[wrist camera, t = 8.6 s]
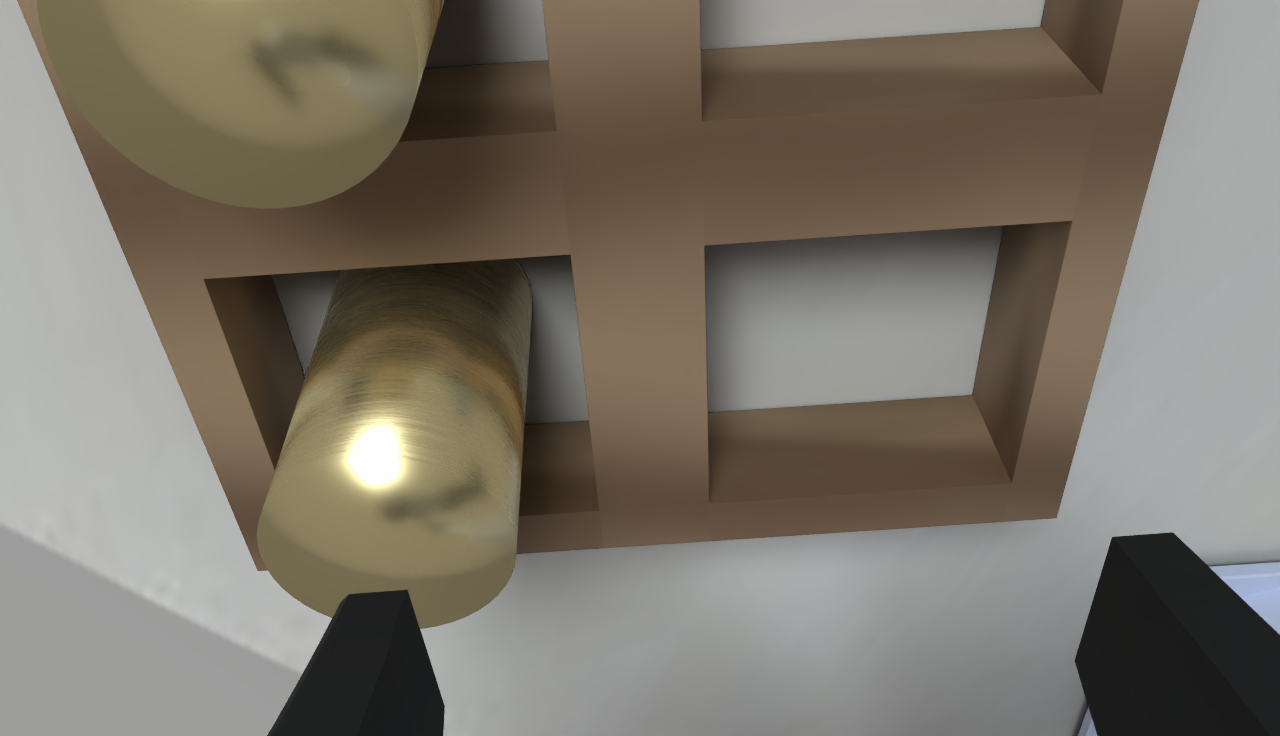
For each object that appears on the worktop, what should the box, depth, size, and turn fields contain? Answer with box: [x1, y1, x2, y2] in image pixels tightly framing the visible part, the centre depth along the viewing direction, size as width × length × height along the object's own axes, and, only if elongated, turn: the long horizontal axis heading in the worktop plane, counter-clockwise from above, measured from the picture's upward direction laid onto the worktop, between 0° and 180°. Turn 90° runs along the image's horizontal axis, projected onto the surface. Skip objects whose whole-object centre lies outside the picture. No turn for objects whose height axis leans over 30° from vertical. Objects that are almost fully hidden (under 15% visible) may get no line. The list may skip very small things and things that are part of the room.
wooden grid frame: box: [17, 0, 1199, 571], centre depth 16 cm, size 15×15×2 cm
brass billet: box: [257, 258, 532, 629], centre depth 17 cm, size 4×4×6 cm
